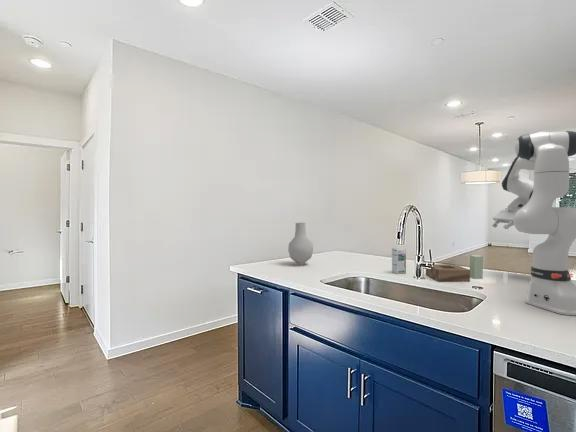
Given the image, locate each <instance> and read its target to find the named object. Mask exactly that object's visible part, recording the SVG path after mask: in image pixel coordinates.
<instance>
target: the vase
mask: <svg viewBox="0 0 576 432" xmlns="http://www.w3.org/2000/svg"><path fill="white" fill-rule="evenodd" d="M313 252H314V244H313V243H312V242H311V241H310V239H309V238H308V237H307V233H306V222H295V233H294V237H293V238H292V239H291V241H289V242H288V255H289V258H290V259H291V260H293V261H294V262H295V265H297V266H306V263H307V262H308V261H309V260H311V259H312V257H313Z"/></svg>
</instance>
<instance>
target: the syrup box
mask: <svg viewBox="0 0 576 432" xmlns="http://www.w3.org/2000/svg"><path fill="white" fill-rule="evenodd" d="M406 250H407V249H406V248H405V247H404V248H403V247H393V248H391V272H392V273H393V274H396V275H399V274H406V273H407V265H406V264H407V259H406V258H407V255H406V253H407V251H406Z"/></svg>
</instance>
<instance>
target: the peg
mask: <svg viewBox="0 0 576 432" xmlns="http://www.w3.org/2000/svg"><path fill="white" fill-rule="evenodd" d="M483 259H484V256H482V255H479V254H474V255H473V254H470V255H469V270H470V279H471V278H472V279H473V280H475V279H476V280H479V279H480V280H481V279H482V280H483V277H484V276H483V274H484V272H483V271H484V260H483Z"/></svg>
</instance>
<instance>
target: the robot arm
mask: <svg viewBox="0 0 576 432" xmlns="http://www.w3.org/2000/svg"><path fill="white" fill-rule="evenodd" d="M514 150H515V154H516V157H515V158H514V160H513V161H512V163H511V165H510V167H509V169H508V171H507V172H506V174H505V177H504V178H503V180H502V182H501V187H502V189H503V191H506V192H509V193H512V194H513V195H516V196H518V197H516V198H515V199H513V200H512V201H511V203H510V204H509V205H508V206H507V208H502V209H499V211H497V212H496V213H495V214H494V215H493V216H492V220H494V222H493V223H492V225H491V226H492V227H493V228H495V229H496V228H497V227H498V224H500V223H501V224H504V226H503V229H504V230H509V228H511V227H513V226H514V228H515V229H516V230H517V231H518V232H519V233H524V234H529V235H548V236H547V238H546V240H544V241H543V242H542V243H539V244H537V245H535V247H534V248H533V249H532V266H530V276H531V279H530V281H529V283H528V289H527V295H526V299H525V300H524V303H526V304H528V305H532V306H534V307H537V308H540V309H544V310H547V311H550V312H553V313H557V314H559V315H566V316H567V315H568V316H576V285H575V284H574V283H573V281H572V278H574V276H573V275H574V273H570V272H569V270H568V258H569V252H570V249H571V246H572V244H573V243H574V242H575V240H576V207H570V206H566V207H565V206H561V207H559V206H553V204H554V202H555V200H557V199H559V198H561V197H563V196H565V195H566V194H567V193H568V192H569V190H570V162H569V161H570V160H569V157H573V156H575V155H576V131H571V130H565V131H538V132H535V133H526V134H523V135H520V136H519V137H518V138H517V140H516V141H515V144H514ZM521 170H527V171H534V172H533V173H534V174H533V180H531V179H528V178H527V177H525V176H523V175H521V174H520V171H521Z"/></svg>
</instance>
